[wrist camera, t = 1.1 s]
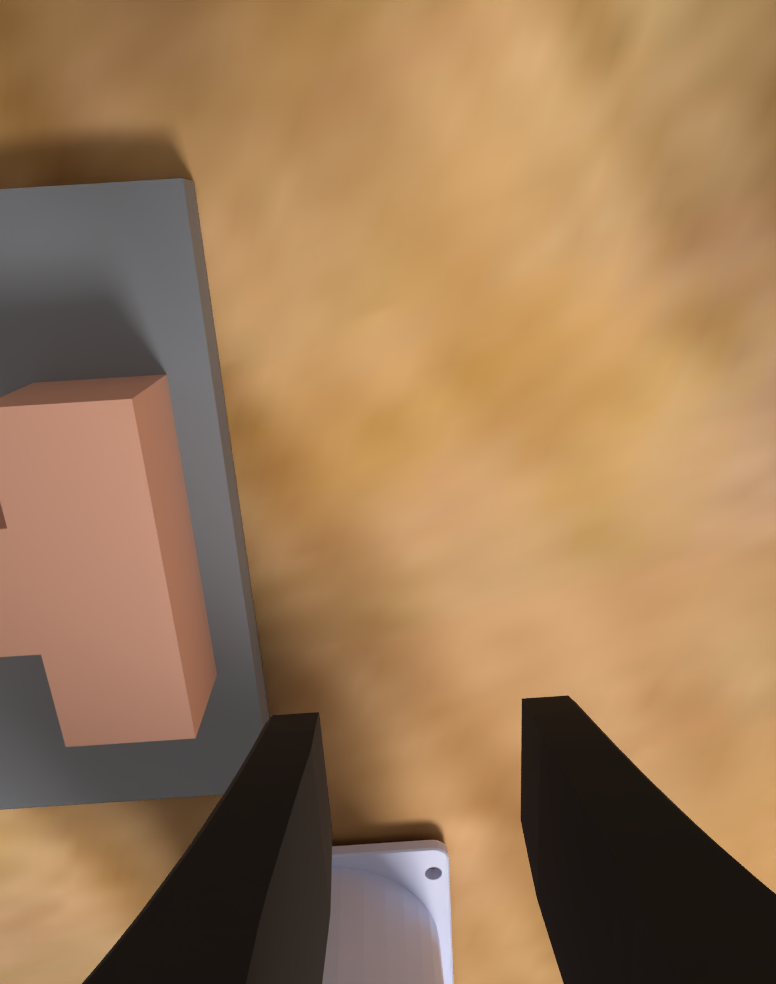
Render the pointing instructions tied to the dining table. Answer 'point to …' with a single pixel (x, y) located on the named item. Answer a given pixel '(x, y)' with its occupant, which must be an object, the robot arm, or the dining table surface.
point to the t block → (103, 559)
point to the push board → (203, 450)
